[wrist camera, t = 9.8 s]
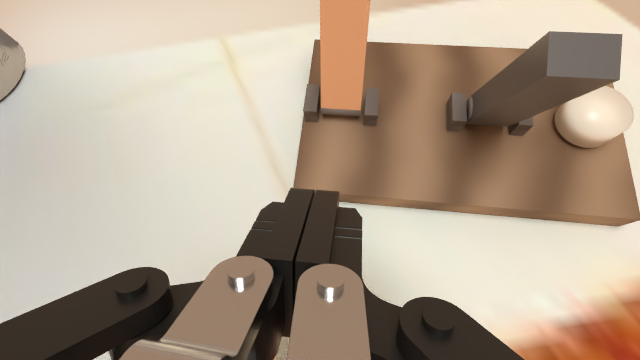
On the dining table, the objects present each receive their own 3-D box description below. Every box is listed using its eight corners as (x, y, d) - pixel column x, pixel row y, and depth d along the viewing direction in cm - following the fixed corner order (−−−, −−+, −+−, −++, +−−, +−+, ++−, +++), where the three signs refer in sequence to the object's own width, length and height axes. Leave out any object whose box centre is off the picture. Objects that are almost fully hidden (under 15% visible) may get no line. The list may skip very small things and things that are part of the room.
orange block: (321, 118, 27) (319, -59, 19) (323, 105, 28) (324, -66, 20) (359, 121, 26) (375, -58, 18) (360, 107, 28) (375, -65, 20)
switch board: (296, 197, 28) (290, 182, 24) (316, 55, 32) (313, 25, 29) (619, 226, 25) (661, 213, 22) (589, 68, 30) (621, 38, 27)
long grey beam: (462, 126, 27) (546, 76, 15) (464, 100, 27) (549, 31, 15) (503, 128, 26) (619, 79, 15) (505, 103, 26) (622, 34, 15)
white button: (557, 145, 25) (575, 132, 23) (551, 98, 26) (567, 83, 25) (616, 149, 25) (639, 136, 23) (607, 102, 26) (627, 86, 24)
